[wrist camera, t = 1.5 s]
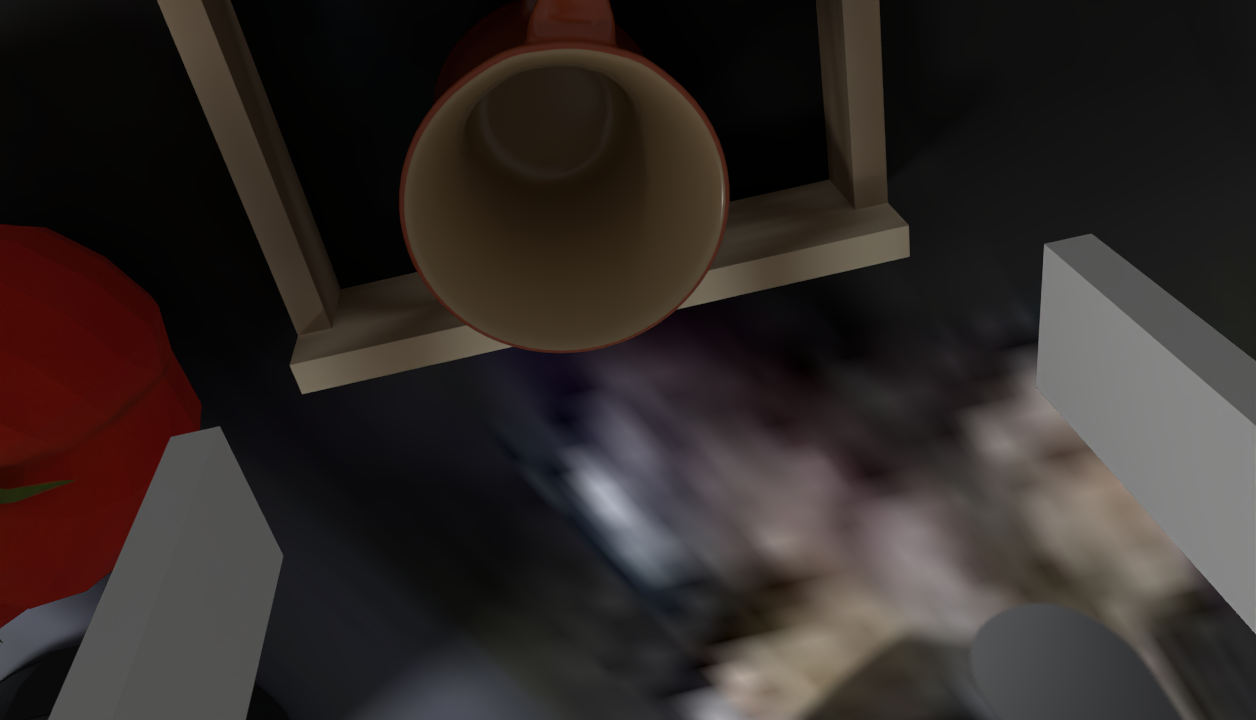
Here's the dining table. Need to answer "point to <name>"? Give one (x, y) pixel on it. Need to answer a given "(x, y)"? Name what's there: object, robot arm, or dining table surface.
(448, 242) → the mug
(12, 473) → the tomato
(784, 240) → the tan wooden shallow box
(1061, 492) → the dining table surface
